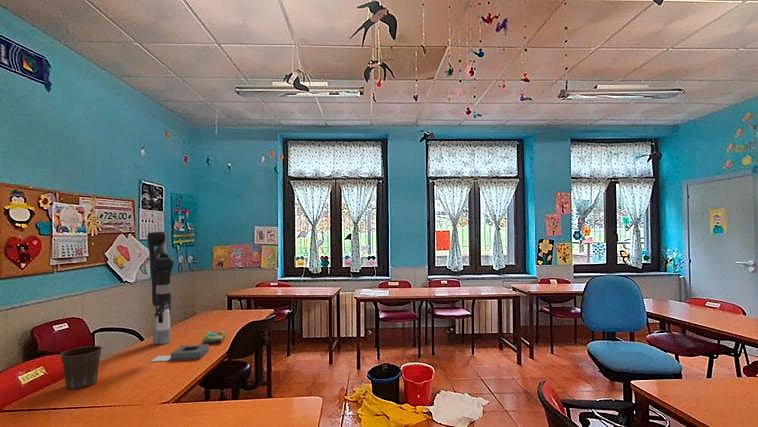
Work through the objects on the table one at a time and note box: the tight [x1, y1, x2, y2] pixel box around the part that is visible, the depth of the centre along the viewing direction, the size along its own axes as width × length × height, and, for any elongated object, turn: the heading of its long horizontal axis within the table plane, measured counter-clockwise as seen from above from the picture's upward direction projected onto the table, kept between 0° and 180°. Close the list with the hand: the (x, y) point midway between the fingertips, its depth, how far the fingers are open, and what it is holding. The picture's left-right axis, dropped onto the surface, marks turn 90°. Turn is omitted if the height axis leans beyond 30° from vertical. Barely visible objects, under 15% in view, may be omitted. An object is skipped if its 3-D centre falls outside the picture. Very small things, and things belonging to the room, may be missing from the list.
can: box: [157, 308, 169, 331], centre depth 229 cm, size 6×6×12 cm
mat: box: [150, 355, 171, 363], centre depth 228 cm, size 9×9×1 cm
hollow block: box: [170, 343, 210, 362], centre depth 234 cm, size 16×16×4 cm
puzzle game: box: [202, 330, 227, 344], centre depth 266 cm, size 12×5×20 cm
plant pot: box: [59, 345, 103, 390], centre depth 191 cm, size 16×16×16 cm
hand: (163, 321), depth 229 cm, fingers closed on can, 6 cm apart
